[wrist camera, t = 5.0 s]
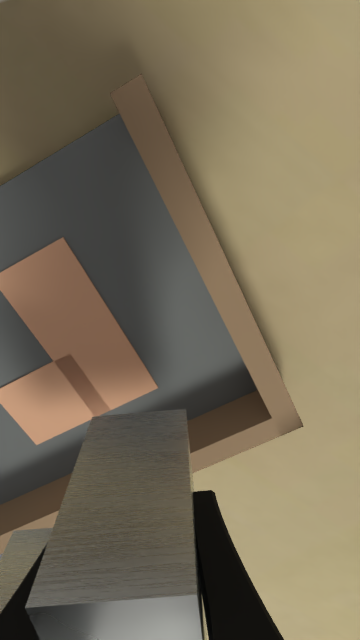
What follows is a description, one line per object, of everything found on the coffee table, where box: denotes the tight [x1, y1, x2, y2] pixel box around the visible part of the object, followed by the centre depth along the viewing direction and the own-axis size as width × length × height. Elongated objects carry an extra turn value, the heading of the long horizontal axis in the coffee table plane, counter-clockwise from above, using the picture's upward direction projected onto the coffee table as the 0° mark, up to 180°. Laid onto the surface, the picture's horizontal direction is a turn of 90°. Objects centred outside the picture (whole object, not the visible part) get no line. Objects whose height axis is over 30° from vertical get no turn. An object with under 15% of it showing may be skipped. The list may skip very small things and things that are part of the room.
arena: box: [0, 74, 303, 554], centre depth 16 cm, size 20×16×3 cm
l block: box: [0, 409, 207, 640], centre depth 9 cm, size 8×7×5 cm
